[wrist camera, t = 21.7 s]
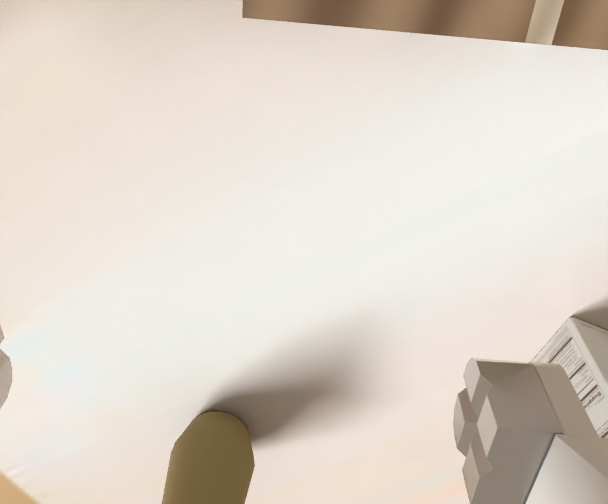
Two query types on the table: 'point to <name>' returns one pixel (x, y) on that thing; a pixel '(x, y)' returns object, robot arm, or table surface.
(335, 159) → the table surface
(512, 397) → the robot arm
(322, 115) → the table surface
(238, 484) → the squeeze bottle
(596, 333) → the supplement box
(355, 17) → the subfloor panel
